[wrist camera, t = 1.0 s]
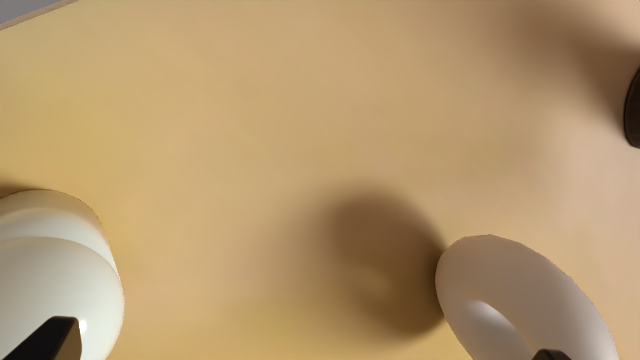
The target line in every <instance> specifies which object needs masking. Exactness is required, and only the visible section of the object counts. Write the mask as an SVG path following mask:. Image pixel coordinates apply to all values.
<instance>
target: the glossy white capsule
mask: <svg viewBox="0 0 640 360" xmlns="http://www.w3.org/2000/svg"><path fill="white" fill-rule="evenodd" d="M124 308H125V305H124V294H123V289H122V285H121V281H120V278H119V275H118V272H117V269H116V266H115V263H114V259H113V256H112V253H111V250H110V247H109V244H108V241H107V237H106V234H105V231H104V228H103V226H102V223H101V221H100V220H99V218H98V216H97V215H96V214H95V213H94V211H93V210H92V209H91V208H90V207H89V206H88V205H86V204H85V203H83V202H82V201H81V200H79V199H77V198H75V197H73V196H71V195H68V194H65V193H62V192H58V191H52V190H27V191H21V192H17V193H14V194H10V195H8V196H5V197H3V198H1V199H0V360H2V359H3V358H4V357H5V356H6V355H8V354H9V353H10V352H11V351H12V350H13V349H14V348H16V347H17V346H18V345H19V344H20V343H21V342H22V341H24V340H25V339H26V338H27V337H28V336H29V335H30V334H32V333H33V332H34V331H35V330H36V329H37V328H38V327H39V326H41V325H42V324H43V323H44V322H45V321H46V320H47V319H49V318H50V317H53V316H71V317H76V318H77V319H78V321H79V326H80V334H81V341H82V354H81V358H80V360H105V359H106V357H107V356H108V355H109V353H110V352H111V350H112V348H113V346H114V345H115V343H116V341H117V338H118V336H119V333H120V331H121V327H122V323H123V318H124Z"/></svg>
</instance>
